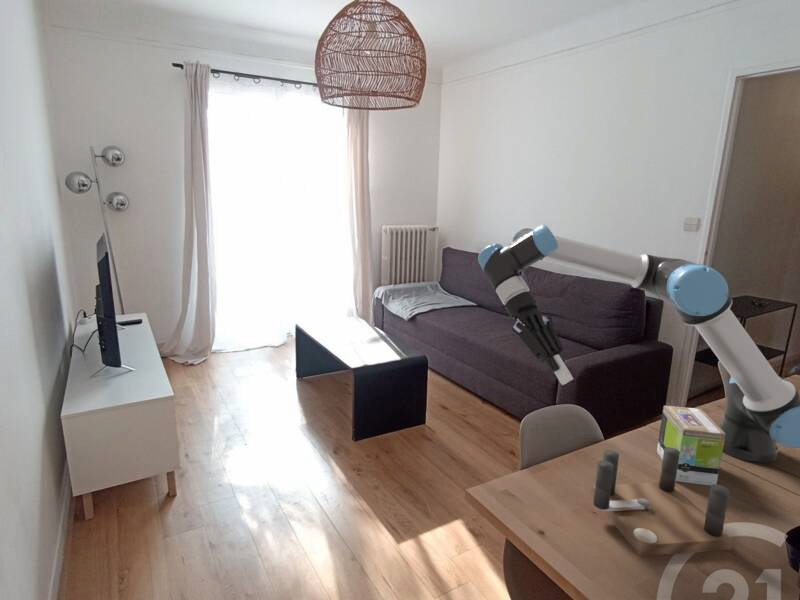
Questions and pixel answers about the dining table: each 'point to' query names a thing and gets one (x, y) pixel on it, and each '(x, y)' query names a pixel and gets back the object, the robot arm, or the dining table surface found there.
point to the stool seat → (668, 513)
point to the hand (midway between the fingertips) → (567, 381)
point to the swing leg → (604, 492)
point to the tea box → (692, 444)
